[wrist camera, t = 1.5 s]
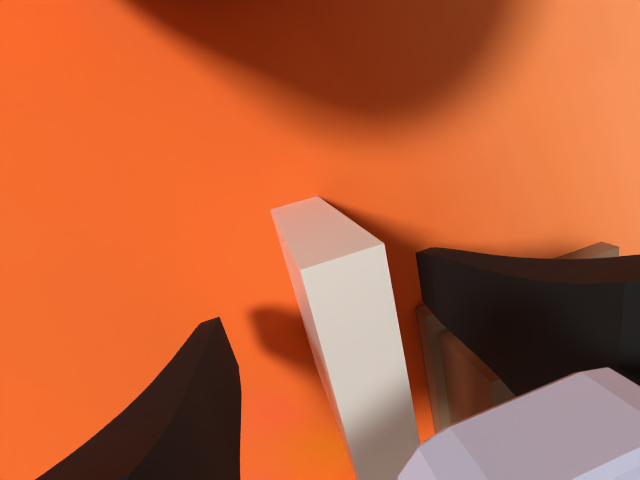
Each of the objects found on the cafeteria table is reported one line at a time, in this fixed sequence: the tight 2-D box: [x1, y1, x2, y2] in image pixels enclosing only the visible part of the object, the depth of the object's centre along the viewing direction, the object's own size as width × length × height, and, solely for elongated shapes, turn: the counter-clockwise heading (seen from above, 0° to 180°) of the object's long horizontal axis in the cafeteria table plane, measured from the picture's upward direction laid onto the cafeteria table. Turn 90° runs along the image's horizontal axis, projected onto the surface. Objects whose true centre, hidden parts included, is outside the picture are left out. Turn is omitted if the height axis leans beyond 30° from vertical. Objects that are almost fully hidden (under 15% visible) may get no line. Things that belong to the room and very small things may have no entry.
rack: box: [416, 242, 619, 434], centre depth 16 cm, size 10×11×4 cm
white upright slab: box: [271, 196, 420, 480], centre depth 11 cm, size 2×7×6 cm, turn 13°
